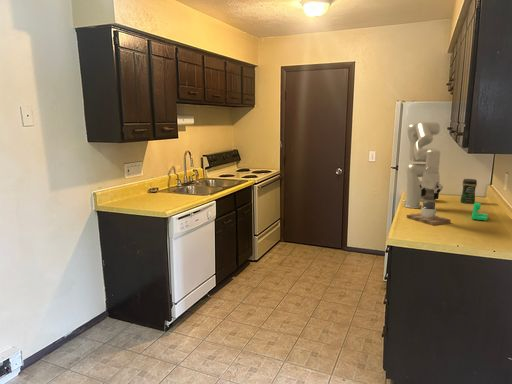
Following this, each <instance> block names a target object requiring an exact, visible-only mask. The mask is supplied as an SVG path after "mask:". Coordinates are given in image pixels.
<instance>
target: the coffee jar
mask: <svg viewBox="0 0 512 384" xmlns="http://www.w3.org/2000/svg"><path fill="white" fill-rule="evenodd" d="M477 183H478V182H477V179H475V178H474V179H473V178H463V181H462V190H461V191H462V192H461V196H460V203H463V204H471V205H472V204H473V205H474V203H476V188H477V186H478V185H477Z"/></svg>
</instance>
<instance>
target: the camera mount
mask: <svg viewBox="0 0 512 384" xmlns="http://www.w3.org/2000/svg"><path fill="white" fill-rule="evenodd" d="M480 210H481V202H475V203H473V207H472V214H471V219H472V220H479V221H488V218H489V214H487V213H482V212H479V213H478V211H480Z"/></svg>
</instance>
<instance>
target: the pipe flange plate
mask: <svg viewBox="0 0 512 384" xmlns="http://www.w3.org/2000/svg"><path fill="white" fill-rule="evenodd" d="M406 218H407V219H409V220H413V221H415V222H420V223H423V224H426V225H430V226H436V225H445V224H451V220H452V219H449V218H446V217H442V216H439V215H437V207H435V209H426V208H423V206H422V207H421V208H420V213H409V214H406Z"/></svg>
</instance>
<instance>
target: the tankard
mask: <svg viewBox="0 0 512 384" xmlns="http://www.w3.org/2000/svg"><path fill="white" fill-rule="evenodd" d="M425 190H426V195H425V196H421V195H420V202H422V201H425V200H429V201H437V199H434V193H435V191H434V189H428V188H426V189H425Z"/></svg>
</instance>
